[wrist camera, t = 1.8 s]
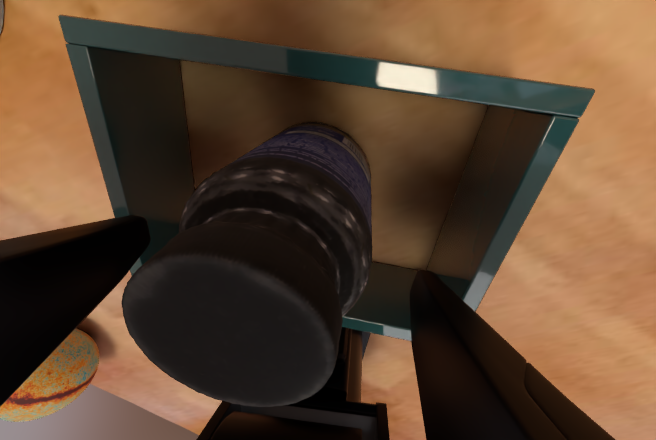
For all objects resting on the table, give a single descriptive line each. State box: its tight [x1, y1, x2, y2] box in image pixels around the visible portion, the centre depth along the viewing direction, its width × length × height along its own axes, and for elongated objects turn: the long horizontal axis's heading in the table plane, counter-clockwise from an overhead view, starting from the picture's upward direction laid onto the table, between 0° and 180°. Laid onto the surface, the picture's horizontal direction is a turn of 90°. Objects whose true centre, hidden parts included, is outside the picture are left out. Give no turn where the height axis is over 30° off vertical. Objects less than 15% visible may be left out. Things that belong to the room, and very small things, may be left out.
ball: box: [0, 329, 99, 422], centre depth 23 cm, size 7×7×7 cm
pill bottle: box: [122, 122, 372, 407], centre depth 10 cm, size 6×6×11 cm
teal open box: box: [59, 15, 595, 341], centre depth 13 cm, size 12×17×5 cm
